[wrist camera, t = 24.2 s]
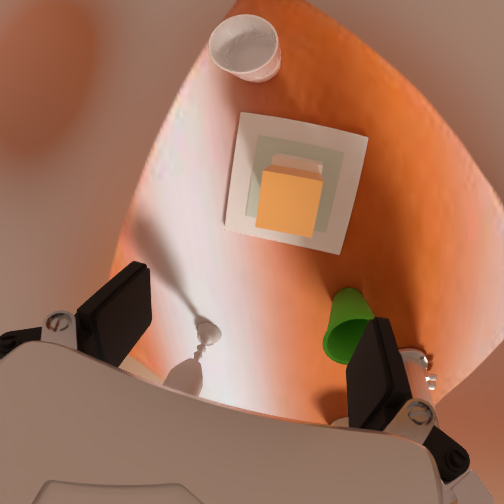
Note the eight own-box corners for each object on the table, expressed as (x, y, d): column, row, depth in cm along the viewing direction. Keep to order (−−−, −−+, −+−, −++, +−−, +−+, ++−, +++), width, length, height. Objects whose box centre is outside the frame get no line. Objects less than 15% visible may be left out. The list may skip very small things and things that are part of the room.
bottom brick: (320, 161, 37) (322, 166, 32) (309, 215, 41) (309, 228, 35) (277, 152, 38) (272, 155, 33) (268, 206, 41) (261, 218, 36)
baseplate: (367, 137, 36) (368, 137, 35) (339, 252, 43) (339, 255, 42) (242, 112, 38) (240, 111, 37) (225, 228, 45) (223, 230, 44)
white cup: (271, 95, 36) (259, 83, 27) (221, 75, 36) (197, 61, 27) (294, 50, 33) (290, 26, 24) (244, 32, 32) (226, 7, 23)
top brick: (320, 173, 32) (323, 181, 27) (311, 221, 35) (311, 238, 29) (270, 164, 33) (263, 170, 28) (263, 211, 36) (255, 227, 30)
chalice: (191, 314, 54) (150, 381, 37) (225, 320, 53) (193, 393, 36) (194, 343, 57) (159, 409, 40) (226, 349, 56) (198, 419, 39)
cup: (315, 316, 49) (314, 359, 39) (330, 271, 45) (335, 310, 35) (362, 325, 48) (370, 369, 38) (381, 282, 44) (396, 322, 34)
